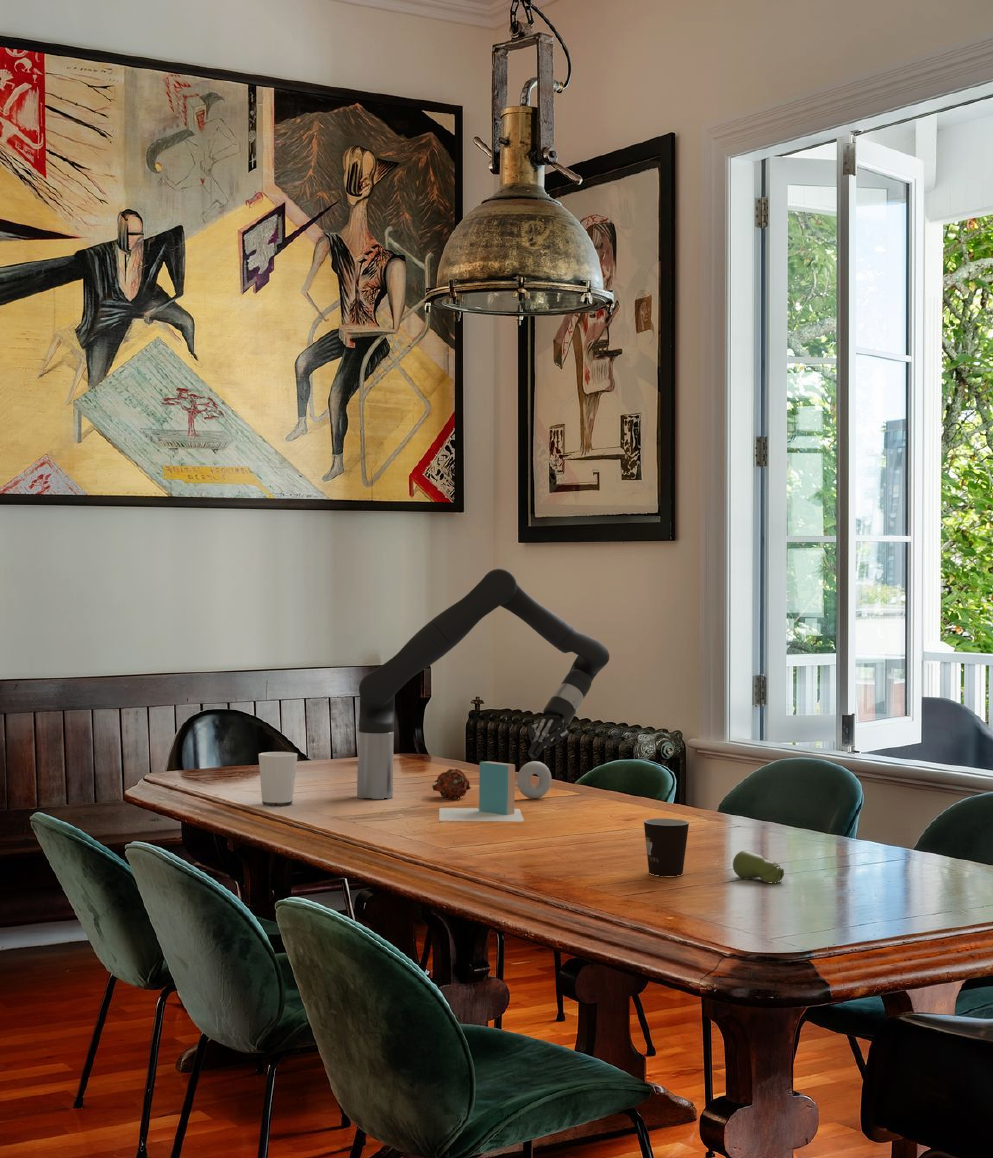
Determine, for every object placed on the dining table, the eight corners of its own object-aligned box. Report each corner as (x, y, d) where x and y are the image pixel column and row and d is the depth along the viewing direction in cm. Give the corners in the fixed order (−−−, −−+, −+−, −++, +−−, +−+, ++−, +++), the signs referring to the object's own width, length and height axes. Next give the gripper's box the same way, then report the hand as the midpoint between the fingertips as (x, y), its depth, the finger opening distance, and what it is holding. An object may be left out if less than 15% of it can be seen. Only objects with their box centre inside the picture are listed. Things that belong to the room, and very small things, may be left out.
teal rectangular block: (487, 809, 338) (488, 761, 338) (514, 813, 332) (514, 764, 332) (479, 810, 335) (479, 762, 336) (505, 815, 329) (506, 765, 330)
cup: (293, 807, 340) (294, 756, 340) (254, 806, 339) (255, 755, 340) (299, 801, 349) (300, 752, 350) (261, 801, 349) (261, 751, 350)
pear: (744, 845, 262) (791, 860, 256) (740, 872, 263) (786, 888, 256) (730, 848, 258) (776, 864, 252) (725, 876, 258) (772, 892, 252)
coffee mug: (687, 879, 256) (688, 826, 256) (641, 877, 258) (642, 824, 258) (689, 868, 268) (690, 817, 268) (645, 865, 269) (646, 815, 269)
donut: (547, 797, 365) (548, 759, 365) (553, 798, 362) (554, 761, 362) (514, 798, 360) (514, 761, 360) (520, 800, 357) (520, 762, 357)
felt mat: (439, 822, 320) (439, 820, 320) (439, 809, 339) (439, 807, 340) (524, 822, 320) (524, 821, 320) (519, 810, 340) (519, 808, 340)
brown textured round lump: (463, 807, 354) (438, 808, 364) (483, 786, 359) (458, 787, 368) (445, 782, 352) (420, 783, 362) (466, 761, 357) (441, 763, 366)
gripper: (537, 693, 355) (505, 744, 346) (577, 696, 346) (545, 748, 337) (550, 713, 359) (519, 763, 350) (589, 716, 350) (558, 768, 341)
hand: (531, 755), depth 343 cm, fingers closed
